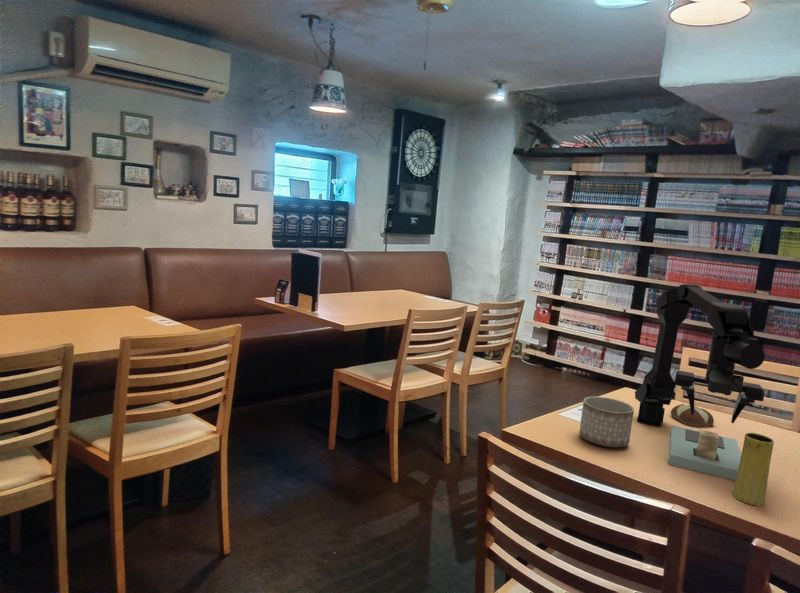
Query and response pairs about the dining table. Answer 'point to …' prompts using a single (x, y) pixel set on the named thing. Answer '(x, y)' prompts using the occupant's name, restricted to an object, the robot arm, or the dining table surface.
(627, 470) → the dining table surface
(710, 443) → the maple block
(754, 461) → the vase
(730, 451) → the pocket board
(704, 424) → the bread
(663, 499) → the dining table surface
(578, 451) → the dining table surface
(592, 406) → the planter
